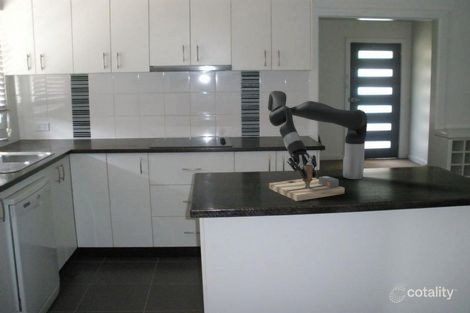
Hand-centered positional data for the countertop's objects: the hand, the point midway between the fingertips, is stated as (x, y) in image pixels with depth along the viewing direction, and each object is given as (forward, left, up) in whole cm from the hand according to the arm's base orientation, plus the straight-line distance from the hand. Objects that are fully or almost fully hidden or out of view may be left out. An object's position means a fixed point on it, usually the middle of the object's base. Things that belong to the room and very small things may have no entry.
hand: (310, 177), depth 177 cm
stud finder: (-2, +11, -5) cm, 12 cm away
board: (-6, +2, -8) cm, 10 cm away
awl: (-2, 0, -7) cm, 7 cm away
